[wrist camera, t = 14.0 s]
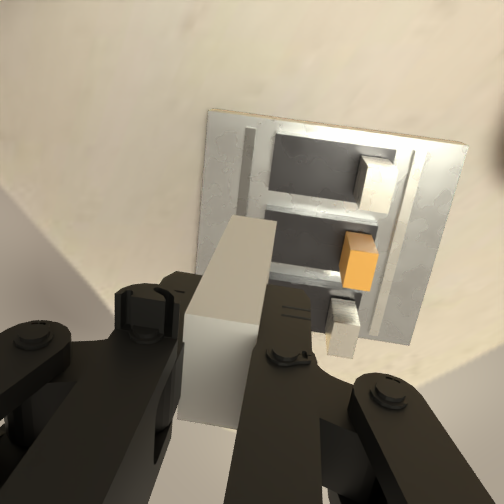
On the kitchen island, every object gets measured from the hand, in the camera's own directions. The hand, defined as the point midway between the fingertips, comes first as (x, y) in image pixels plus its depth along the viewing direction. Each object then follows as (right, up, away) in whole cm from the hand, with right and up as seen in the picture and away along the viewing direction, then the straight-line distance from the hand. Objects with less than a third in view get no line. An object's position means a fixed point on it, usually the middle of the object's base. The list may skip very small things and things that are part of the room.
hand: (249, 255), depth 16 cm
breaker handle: (+8, 0, +21) cm, 23 cm away
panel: (+6, +2, +25) cm, 26 cm away
